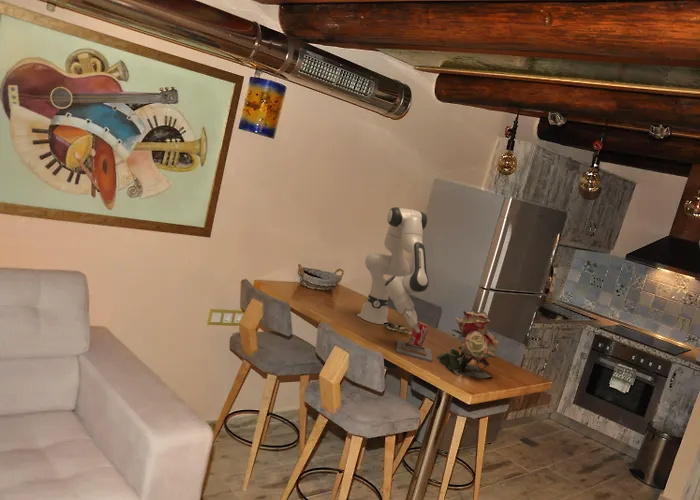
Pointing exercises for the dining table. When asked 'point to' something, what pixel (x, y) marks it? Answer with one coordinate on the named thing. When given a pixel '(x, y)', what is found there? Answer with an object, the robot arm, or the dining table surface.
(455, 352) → the rose bouquet
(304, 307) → the dining table surface
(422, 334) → the soda can
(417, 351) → the coaster board
